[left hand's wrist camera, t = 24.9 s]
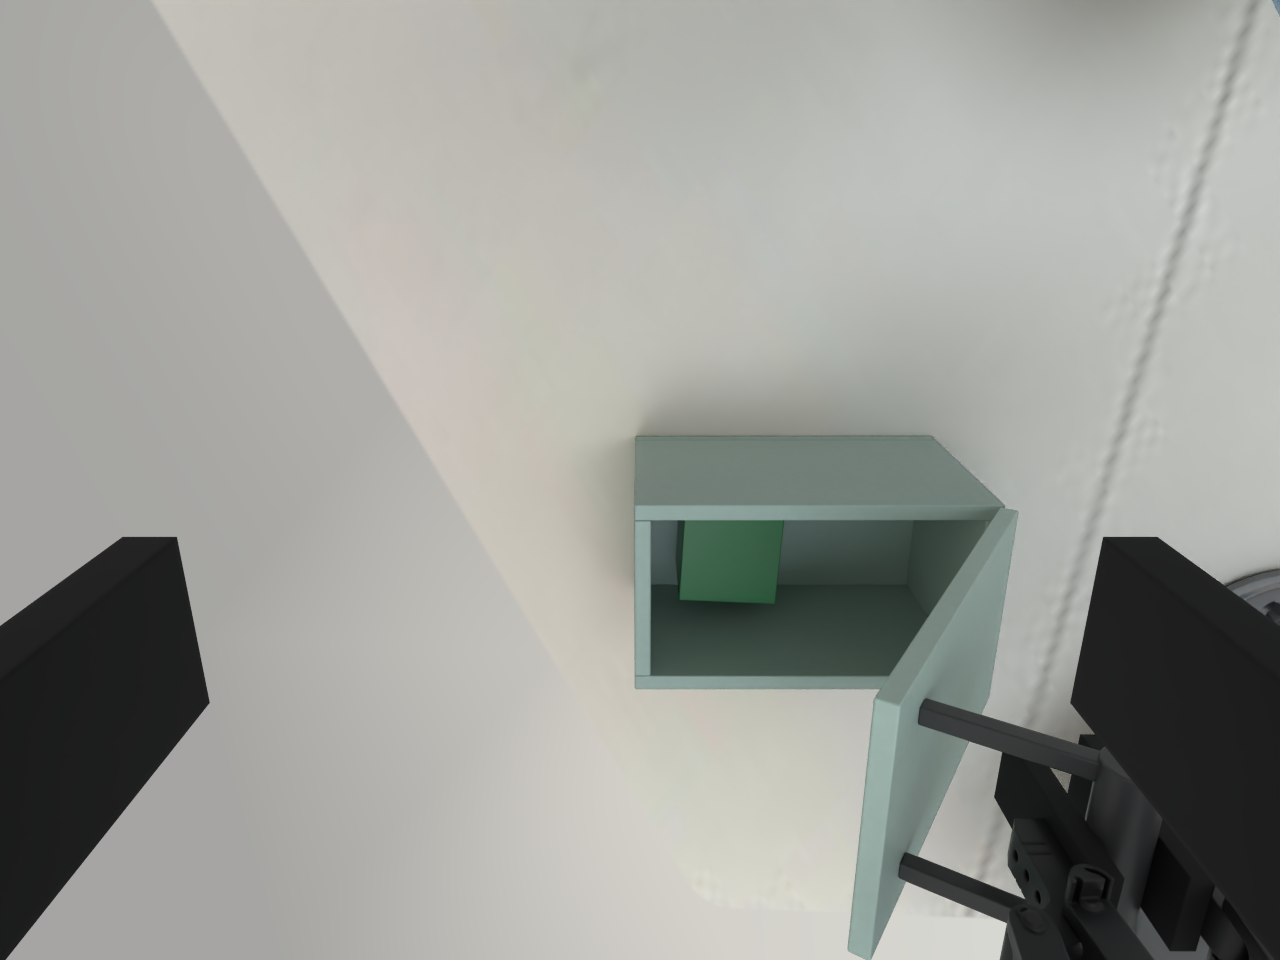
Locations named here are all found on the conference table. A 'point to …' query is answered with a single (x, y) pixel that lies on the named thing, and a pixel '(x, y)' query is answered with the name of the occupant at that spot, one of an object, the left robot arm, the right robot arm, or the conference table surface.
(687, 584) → the block
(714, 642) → the chest
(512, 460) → the conference table surface
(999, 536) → the lid
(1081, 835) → the right robot arm
